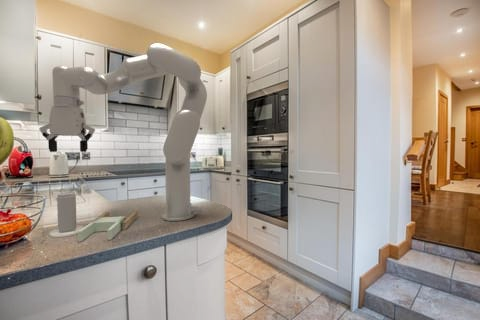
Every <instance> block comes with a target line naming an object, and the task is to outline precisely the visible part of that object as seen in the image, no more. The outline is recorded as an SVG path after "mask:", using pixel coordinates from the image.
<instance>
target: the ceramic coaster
mask: <svg viewBox="0 0 480 320" xmlns="http://www.w3.org/2000/svg"><path fill="white" fill-rule="evenodd" d="M76 225H77V224H76ZM84 227H85V226H84V225H79V224H78V225H77V227H76V229H75V230H73V231H70V232H59V231H58V228H55V229H53V230H51V231H49V237H50V238H55V239H56V238H57V239H58V238H67V237H72V236H75V235H78V231H79V230H81V229H82V228H84Z"/></svg>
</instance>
